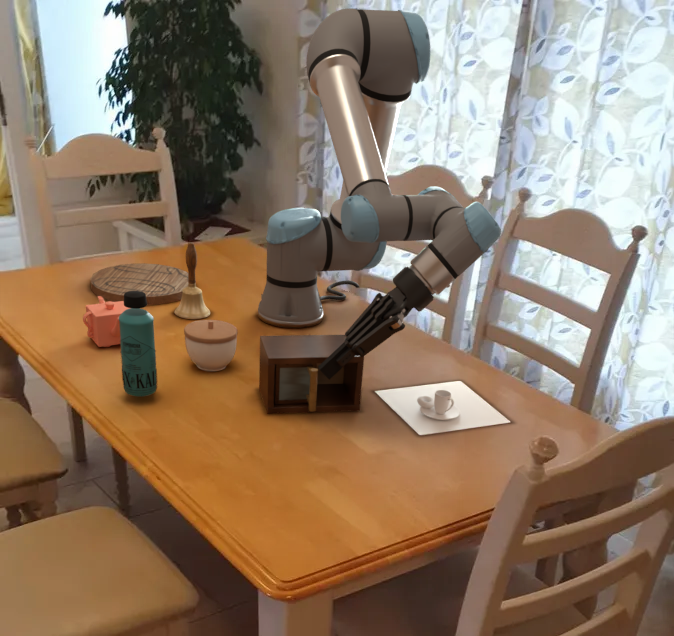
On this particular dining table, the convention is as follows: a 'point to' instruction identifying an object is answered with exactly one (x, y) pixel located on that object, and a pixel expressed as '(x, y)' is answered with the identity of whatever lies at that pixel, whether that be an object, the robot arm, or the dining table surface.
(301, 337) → the cabinet
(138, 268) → the trivet
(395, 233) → the robot arm
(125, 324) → the beverage bottle
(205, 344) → the trinket box
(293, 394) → the door
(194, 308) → the hand bell
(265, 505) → the dining table surface
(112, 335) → the teapot
